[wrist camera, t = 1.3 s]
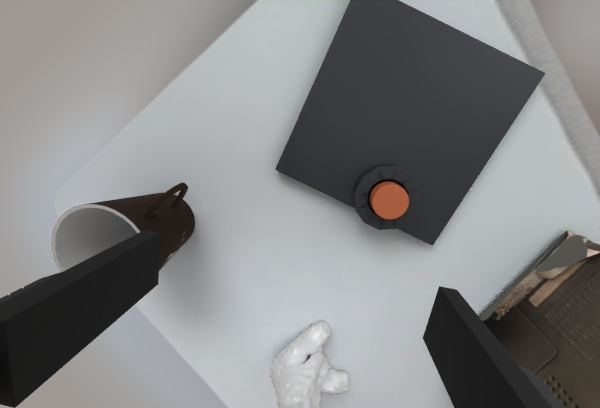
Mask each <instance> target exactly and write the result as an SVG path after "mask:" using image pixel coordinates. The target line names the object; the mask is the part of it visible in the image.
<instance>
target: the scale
mask: <svg viewBox="0 0 600 408" xmlns="http://www.w3.org/2000/svg"><path fill="white" fill-rule="evenodd" d="M544 74H545V73H544V72H542V71H540V70H538V69H536V68H534V67H532V66H530V65H528V64H526V63H524V62H522V61H520V60H518V59H516V58H513V57H511V56H509V55H507V54H505V53H503V52H501V51H499V50H497V49H495V48H493V47H491V46H489V45H487V44H485V43H483V42H481V41H479V40H477V39H475V38H473V37H471V36H469V35H467V34H465V33H463V32H461V31H459V30H457V29H455V28H453V27H451V26H449V25H447V24H445V23H443V22H441V21H439V20H437V19H435V18H433V17H431V16H429V15H427V14H425V13H423V12H421V11H419V10H417V9H415V8H413V7H411V6H409V5H407V4H405V3H403V2H401V1H399V0H350V3H349V5H348V7H347V9H346V12H345V14H344V16H343V18H342V21H341V23H340V25H339V27H338V30H337V32H336V34H335V36H334V39H333V41H332V43H331V45H330V48H329V50H328V52H327V54H326V57H325V59H324V61H323V63H322V66H321V68H320V70H319V72H318V75H317V77H316V79H315V81H314V84H313V86H312V88H311V90H310V93H309V95H308V97H307V99H306V102H305V104H304V106H303V108H302V111H301V113H300V115H299V117H298V120H297V122H296V124H295V126H294V129H293V131H292V133H291V135H290V138H289V140H288V142H287V144H286V147H285V149H284V151H283V154H282V156H281V158H280V160H279V163H278V165H277V167H276V170H277V171H279V172H281V173H283V174H286V175H288V176H290V177H292V178H294V179H296V180H298V181H300V182H302V183H304V184H306V185H308V186H310V187H312V188H315V189H317V190H319V191H321V192H323V193H325V194H327V195H329V196H331V197H333V198H335V199H337V200H339V201H341V202H344V203H346V204H348V205H350V206H352V207H354V208H355V210H356V211H357V213H358V214H359V216H360V217H361V219H362V220H363V222H364V223H366V224H368V225H370V226H372V227H374V228H377V229H380V230H382V229H399V230H402V231H404V232H406V233H408V234H410V235H412V236H414V237H416V238H418V239H420V240H422V241H424V242H426V243H428V244H431V245H433V244H434V242H435V241H436V239H437V238H438V236H439V235H440V233H441V232H442V230H443V229H444V227H445V226H446V224H447V223H448V221H449V220H450V218H451V217H452V215H453V213H454V212H455V210H456V209H457V207H458V206H459V204H460V203H461V201H462V200H463V198H464V197H465V195H466V194H467V192H468V191H469V189H470V187H471V186H472V184H473V183H474V181H475V180H476V178H477V177H478V175H479V174H480V172H481V171H482V169H483V168H484V166H485V165H486V163H487V162H488V160H489V158H490V157H491V155H492V154H493V152H494V151H495V149H496V148H497V146H498V145H499V143H500V142H501V140H502V139H503V137H504V136H505V134H506V133H507V131H508V129H509V128H510V126H511V125H512V123H513V122H514V120H515V119H516V117H517V116H518V114H519V113H520V111H521V110H522V108H523V107H524V105H525V104H526V102H527V100H528V99H529V97H530V96H531V94H532V93H533V91H534V90H535V88H536V87H537V85H538V84H539V82H540V81H541V79H542V78H543V76H544ZM382 182H393V183H396V184H398V185H399V186H400V187H402V188H403V189H404V190H405V191H406V192H407V194H408V197H409V205H408V208H407V210H406V211H405V213H404V214H403V215H401V216H400V217H398V218H395V219H384V218H382V217H380V216H379V215H377V214H376V212H375V211H374V209H373V208H372V206H371V203H370V194H371V192H372V190H373V189H374V187H375V186H377V185H378V184H380V183H382Z"/></svg>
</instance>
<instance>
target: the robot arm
mask: <svg viewBox="0 0 600 408" xmlns="http://www.w3.org/2000/svg"><path fill="white" fill-rule="evenodd" d="M159 242H160V233H158V232H153V231H148V230H143V231H141V232H140V233H138V234H136V235H134V236H132V237H130V238H128V239H126V240H124V241H122V242H120V243H118V244H116V245H114V246H112V247H110V248H108V249H106V250H104V251H102V252H100V253H98V254H96V255H94V256H93V257H91V258H89V259H87V260H85V261H83V262H81V263H79V264H77V265H75V266H73V267H71V268H69V269H67V270H65V271H63V272H61V273H58V274H54V275H51V276H48V277H44V278H41V279H39V280H37V281H35V282H33V283H31V284H29V285H27V286H25V287H24V288H21V289H19V290H17V291H15V292H13V293H11V294H10V295H7V296H5V297H3V298H0V404H1V405H5V406H9V407H14V408H15V407H16V406H18V405H19V404H20V403H21V402H22V401H23V400H24V399H26V398H27V397H28V396H29V395H30V394H31V393H33V392H34V391H35V390H36V389H37V388H38V387H40V386H41V385H42V384H43V383H44V382H45V381H46V380H48V379H49V378H50V377H51V376H52V375H54V374H55V373H56V372H57V371H58V370H59V369H60V368H62V367H63V366H64V365H65V364H66V363H67V362H69V361H70V360H71V359H72V358H73V357H74V356H75V355H76V354H78V353H79V352H80V351H81V350H82V349H84V348H85V347H86V346H87V345H88V344H89V343H91V342H92V341H93V340H94V339H95V338H96V337H97V336H99V335H100V334H101V333H102V332H103V331H104V330H106V328H108V327H109V326H110V325H111V324H113V323H114V322H115V321H116V320H117V319H118V318H119V317H121V316H122V315H123V314H124V313H125V312H126V311H128V310H129V309H130V308H131V307H132V306H133V305H134V304H136V303H137V302H138V301H139V300H140V299H141V298H143V297H144V296H145V295H146V294H147V293H148V292H150V291H151V290H152V289H153V288H154V287H155V286H156V285H158V272H159ZM423 339H424V342H425V344H426V346H427V348H428V350H429V353H430V355H431V357H432V359H433V361H434V364H435V366H436V368H437V370H438V372H439V375H440V377H441V379H442V381H443V383H444V386H445V388H446V390H447V392H448V394H449V397H450V399H451V401H452V403H453V405H454V408H565V407H564V405H563V404H562V403H561V402H560V401H558V400H557V397H556V396H555V395H554V394H553V393H552V391H551V390H550V389H549V388H548V387H547V386H546V384H545V383H544V382H543V381H541V380H540V379H539V378H538V377H536V376H535V375H534V374H533V373H532V372H530V371H529V370H528V369H527V368H524V367H519V366H518V365H517V363H516V362H515V361H514V360H513V358H512V357H511V356H510V355H509V354H508V352H507V351H506V350H505V349H504V347H503V346H502V345H501V344H500V342H499V341H498V340H497V339H496V338H495V336H494V335H493V334H492V333H491V331H490V330H489V329H488V328H487V326H486V325H485V324H484V323H483V322H482V320H481V319H480V318H479V317H478V315H477V314H476V313H475V312H474V310H473V309H472V308H471V307H470V306H469V304H468V303H467V302H466V301H465V299H464V298H463V297H462V296H461V294H460V293H459V292H458V291H457V290H455V289H450V288H445V287H439V289H438V292H437V295H436V298H435V302H434V305H433V308H432V311H431V314H430V317H429V321H428V324H427V327H426V330H425V333H424V336H423Z"/></svg>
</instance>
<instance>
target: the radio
mask: <svg viewBox="0 0 600 408" xmlns="http://www.w3.org/2000/svg"><path fill="white" fill-rule="evenodd" d="M479 318H480V319H481V320H482V322H483V323H484V324H485V325H486V326H487V328H488V329H489V330H490V331H491V333H492V334H493V335H494V336H495V338H496V339H497V340H498V341H499V342H500V344H501V345H502V346H503V347H504V349H505V350H506V351H507V352H508V354H509V355H510V356H511V357H512V358H513V360H514V361H515V362H516V363H517V365H518V366H519V367H524V368H527V369H528V370H529V371H530V372H532V373H533V374H534V375H535V376H536V377H538V378H539V379H540V380H541V381H543V382H544V383H545V384H546V386H547V387H548V388H549V389H550V390H551V391H552V393H553V394H554V395H555V396H556V397H557V400H558V401H560V402H561V403H562V404H563V405H564V407H565V408H600V245H598V244H595V243H593V242H591V241H590V240H588V239H587V238H585V237H582V236H580V235H575V234H573V233H571V232H569V231H566V232H565V233H564V234H563V235H562V236H561V237H560V238H559V239H558V240H557V241H556V242H555V243H554V244H553V245H552V246H551V247H550V248H549V249H547V250H546V251H545V252H544V253H543V254H542V255H541V256H540V257H539V258H538V259H537V260H536V261H535V262H534V263H533V264H532V265H531V266H530V267H529V268H528V269H527V270H526V271H525V272H524V273H523V274H522V275H521V276H520V277H519V278H518V279H517V280H516V281H515V282H514V283H513V284H512V285H511V286H510V287H509V288H508V289H507V290H506V291H505V292H504V293H503V294H502V295H501V296H499V297H498V298H497V299H496V300H495V301H494V302H493V303H492V304H491V305H490V306H489V307H488V308H487V309H486V310H485V311H484V312H483V313H482V314H481V315H480V316H479Z"/></svg>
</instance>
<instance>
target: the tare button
mask: <svg viewBox="0 0 600 408" xmlns="http://www.w3.org/2000/svg"><path fill="white" fill-rule="evenodd" d="M370 203H371V206H372V208H373V209H374V211H375V212H376V214H377V215H379V216H380V217H382V218H384V219H395V218H398V217H400V216H401V215H403V214H404V213H405V211H406V210H407V208H408V205H409V197H408V194H407V192H406V191H405V190H404V189H403V188H402V187H400V186H399V185H398V184H396V183H393V182H382V183H380V184H378V185H377V186H375V187H374V189H373V190H372V192H371V194H370Z"/></svg>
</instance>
